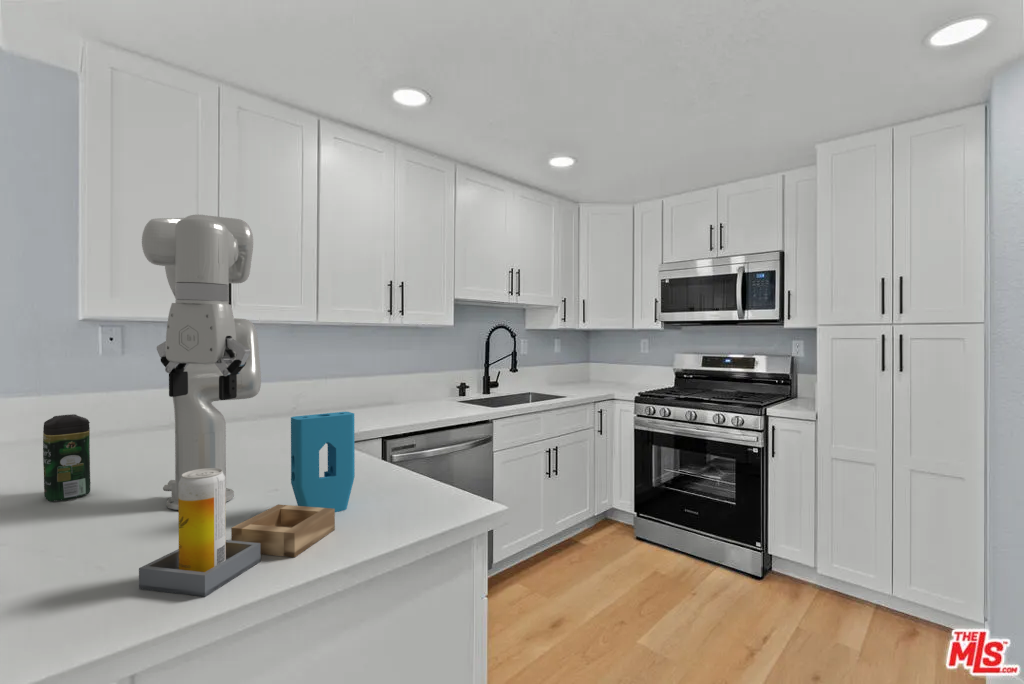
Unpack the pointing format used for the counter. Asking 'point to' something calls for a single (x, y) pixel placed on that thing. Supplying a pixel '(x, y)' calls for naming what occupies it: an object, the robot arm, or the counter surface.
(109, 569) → the counter surface
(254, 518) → the shallow wooden box
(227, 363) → the robot arm
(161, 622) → the counter surface
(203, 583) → the tray
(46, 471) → the coffee jar
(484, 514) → the counter surface
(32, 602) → the counter surface
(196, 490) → the beer can
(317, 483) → the block
